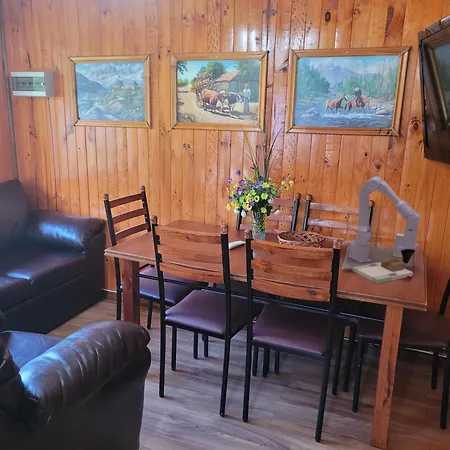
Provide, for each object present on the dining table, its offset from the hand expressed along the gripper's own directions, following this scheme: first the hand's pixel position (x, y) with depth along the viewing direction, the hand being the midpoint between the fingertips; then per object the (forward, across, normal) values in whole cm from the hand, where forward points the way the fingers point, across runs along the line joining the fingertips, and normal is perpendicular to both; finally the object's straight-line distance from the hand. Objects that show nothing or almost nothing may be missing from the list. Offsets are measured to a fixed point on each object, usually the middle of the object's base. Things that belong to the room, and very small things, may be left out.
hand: (405, 262), depth 220 cm
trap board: (+3, -16, 0) cm, 16 cm away
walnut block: (+1, -9, 0) cm, 9 cm away
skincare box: (+4, +12, +14) cm, 19 cm away
